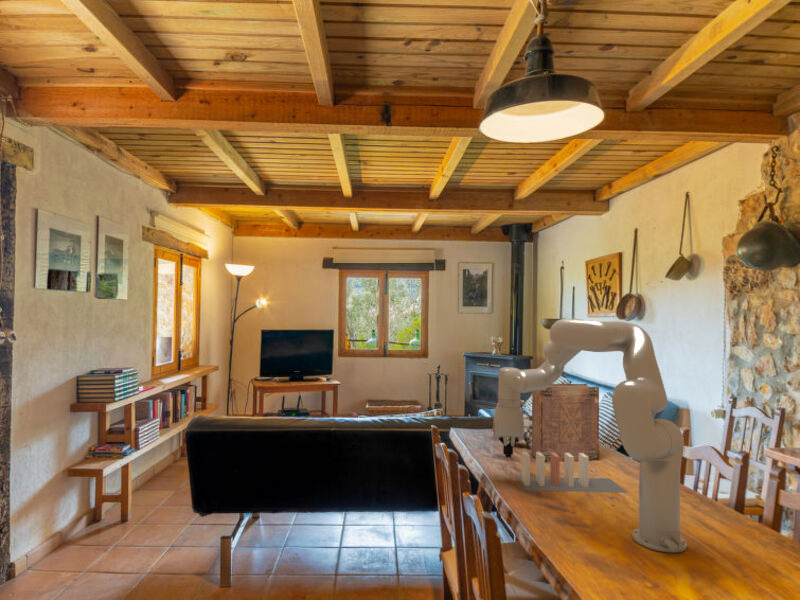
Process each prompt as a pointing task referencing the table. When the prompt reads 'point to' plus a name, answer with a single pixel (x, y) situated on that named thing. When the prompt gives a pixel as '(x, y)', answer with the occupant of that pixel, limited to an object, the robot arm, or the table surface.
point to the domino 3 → (554, 469)
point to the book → (566, 421)
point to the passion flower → (526, 438)
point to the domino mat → (594, 485)
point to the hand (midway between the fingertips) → (508, 456)
